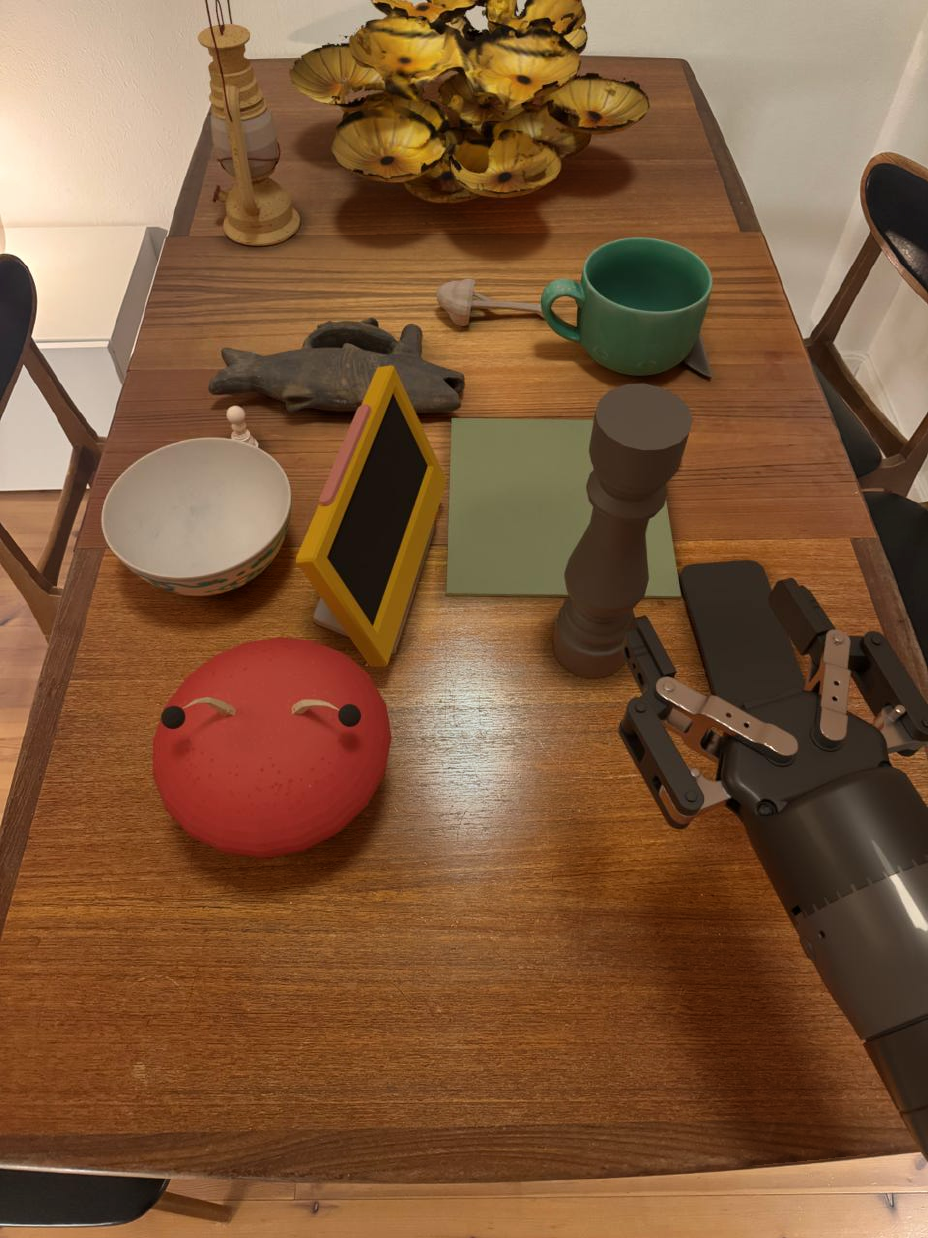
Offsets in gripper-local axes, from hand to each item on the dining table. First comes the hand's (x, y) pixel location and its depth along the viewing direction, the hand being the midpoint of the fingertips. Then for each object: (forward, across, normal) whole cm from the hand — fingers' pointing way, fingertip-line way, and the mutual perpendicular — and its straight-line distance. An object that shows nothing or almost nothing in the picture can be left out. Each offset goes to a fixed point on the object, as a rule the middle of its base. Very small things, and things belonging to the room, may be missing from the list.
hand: (707, 606), depth 46 cm
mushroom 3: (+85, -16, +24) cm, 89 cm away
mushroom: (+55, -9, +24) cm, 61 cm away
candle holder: (+12, -2, +23) cm, 26 cm away
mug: (+45, -19, +23) cm, 54 cm away
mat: (+27, -6, +23) cm, 36 cm away
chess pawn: (+43, +21, +24) cm, 54 cm away
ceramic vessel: (+50, +9, +24) cm, 56 cm away
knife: (+45, -28, +23) cm, 58 cm away
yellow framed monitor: (+24, +13, +24) cm, 36 cm away
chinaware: (+30, +25, +24) cm, 46 cm away
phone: (+8, -14, +23) cm, 28 cm away
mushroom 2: (+7, +24, +24) cm, 34 cm away
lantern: (+80, +12, +25) cm, 85 cm away
